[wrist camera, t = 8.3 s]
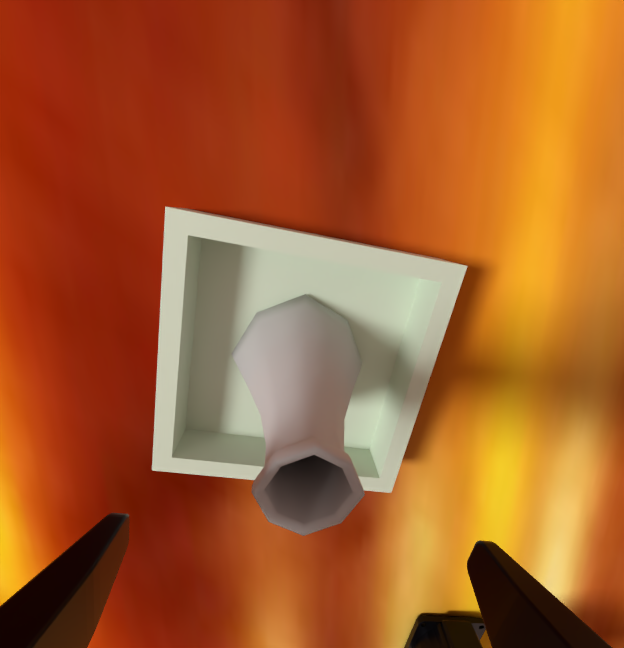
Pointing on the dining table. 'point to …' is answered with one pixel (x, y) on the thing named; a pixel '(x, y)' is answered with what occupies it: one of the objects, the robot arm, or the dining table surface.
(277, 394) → the flask
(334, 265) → the tray
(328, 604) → the dining table surface
